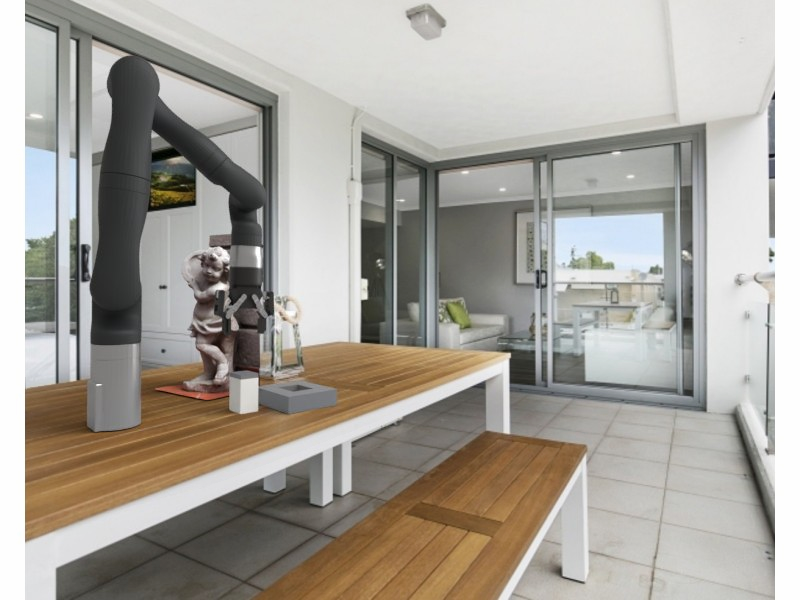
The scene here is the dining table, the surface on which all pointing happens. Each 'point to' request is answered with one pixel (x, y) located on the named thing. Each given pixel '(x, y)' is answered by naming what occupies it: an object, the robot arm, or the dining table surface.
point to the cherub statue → (217, 325)
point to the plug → (243, 392)
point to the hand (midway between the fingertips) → (244, 334)
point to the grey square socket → (296, 396)
